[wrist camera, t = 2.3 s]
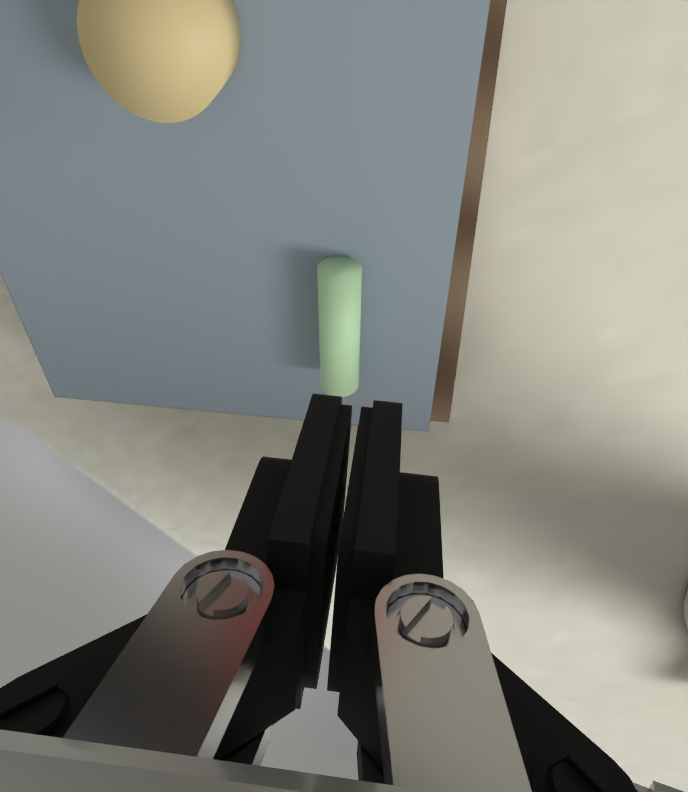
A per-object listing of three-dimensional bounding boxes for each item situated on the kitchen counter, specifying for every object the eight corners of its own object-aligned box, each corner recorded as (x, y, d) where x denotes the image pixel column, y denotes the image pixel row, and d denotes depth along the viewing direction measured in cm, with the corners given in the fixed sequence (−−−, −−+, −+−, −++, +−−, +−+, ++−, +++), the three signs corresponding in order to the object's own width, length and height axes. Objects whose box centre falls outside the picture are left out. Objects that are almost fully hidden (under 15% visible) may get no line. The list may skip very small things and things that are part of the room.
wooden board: (446, 385, 33) (449, 422, 30) (87, 354, 35) (50, 385, 31) (508, -83, 23) (521, -108, 20) (9, -94, 25) (-57, -119, 22)
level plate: (429, 413, 29) (427, 464, 27) (65, 380, 31) (34, 426, 28) (501, -101, 16) (509, -86, 14) (-135, -113, 18) (-223, -102, 15)
